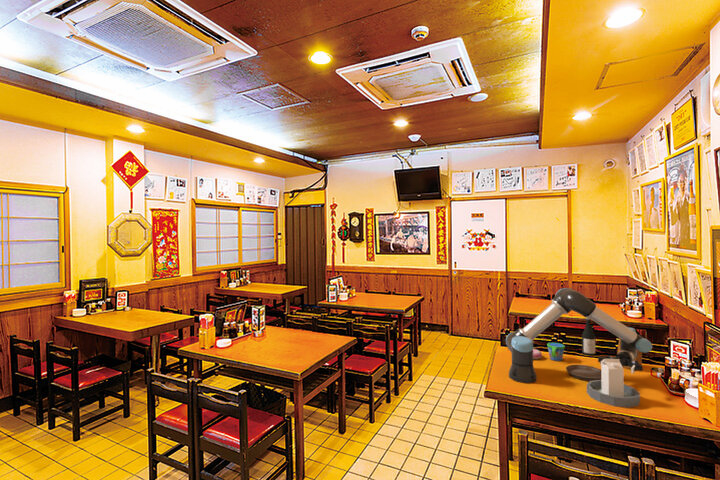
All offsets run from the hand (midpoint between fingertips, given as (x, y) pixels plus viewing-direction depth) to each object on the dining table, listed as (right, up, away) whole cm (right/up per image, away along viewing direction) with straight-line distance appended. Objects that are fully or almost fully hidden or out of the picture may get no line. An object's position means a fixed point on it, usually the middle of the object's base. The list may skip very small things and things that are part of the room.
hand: (616, 367), depth 193 cm
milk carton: (-6, -12, -6) cm, 15 cm away
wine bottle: (+25, -12, +62) cm, 68 cm away
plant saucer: (-2, -14, +23) cm, 27 cm away
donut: (-19, -13, +57) cm, 62 cm away
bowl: (-6, -13, -6) cm, 16 cm away
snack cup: (-4, -13, +52) cm, 53 cm away
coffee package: (+34, -13, +35) cm, 50 cm away
